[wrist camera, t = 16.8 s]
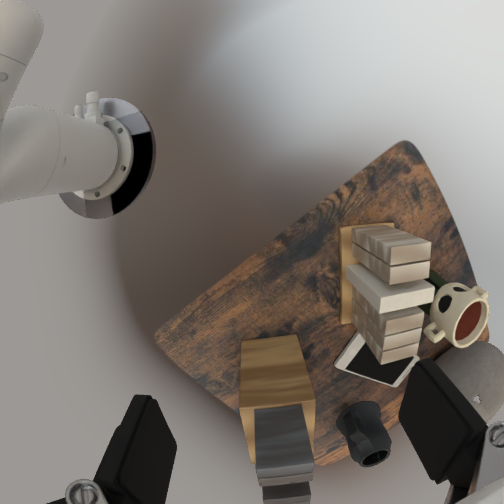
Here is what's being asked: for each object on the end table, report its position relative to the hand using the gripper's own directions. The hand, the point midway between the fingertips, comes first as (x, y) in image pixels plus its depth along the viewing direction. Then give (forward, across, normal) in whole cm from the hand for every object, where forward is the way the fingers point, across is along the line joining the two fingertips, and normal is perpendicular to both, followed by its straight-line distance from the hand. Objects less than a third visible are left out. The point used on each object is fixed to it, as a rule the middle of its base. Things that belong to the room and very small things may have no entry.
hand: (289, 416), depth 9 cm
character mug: (+28, -25, +10) cm, 39 cm away
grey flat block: (+27, -15, +5) cm, 31 cm away
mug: (+28, -15, +35) cm, 48 cm away
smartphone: (+28, -18, +22) cm, 40 cm away
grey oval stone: (+28, -32, +26) cm, 50 cm away
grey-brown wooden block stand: (+28, -14, +6) cm, 32 cm away
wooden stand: (+28, 0, +20) cm, 35 cm away
